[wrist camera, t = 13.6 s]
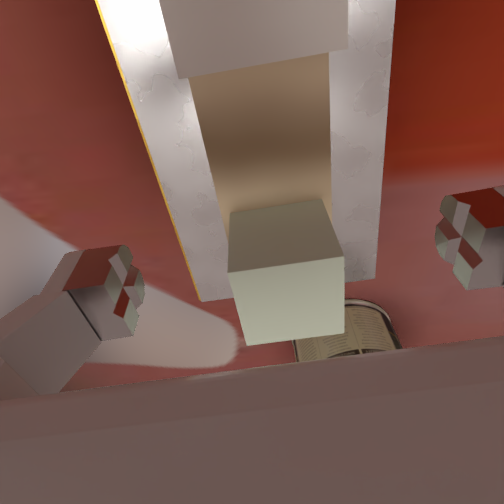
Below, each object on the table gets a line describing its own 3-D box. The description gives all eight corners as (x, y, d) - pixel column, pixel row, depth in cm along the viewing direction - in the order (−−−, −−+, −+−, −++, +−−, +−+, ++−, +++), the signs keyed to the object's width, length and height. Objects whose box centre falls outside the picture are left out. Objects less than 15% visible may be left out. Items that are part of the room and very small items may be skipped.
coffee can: (412, 323, 36) (492, 478, 24) (341, 373, 41) (380, 521, 29) (339, 281, 32) (395, 442, 21) (271, 342, 37) (285, 498, 25)
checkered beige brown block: (144, -173, 13) (114, -224, 10) (301, -210, 13) (322, -274, 10) (242, 266, 26) (243, 305, 23) (321, 255, 26) (333, 293, 23)
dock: (36, -233, 14) (-5, -277, 12) (391, -322, 13) (425, -391, 11) (202, 277, 31) (199, 302, 29) (363, 255, 30) (374, 278, 28)
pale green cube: (229, 213, 19) (227, 272, 15) (321, 198, 19) (344, 256, 15) (245, 280, 22) (246, 345, 18) (324, 269, 22) (344, 333, 18)
